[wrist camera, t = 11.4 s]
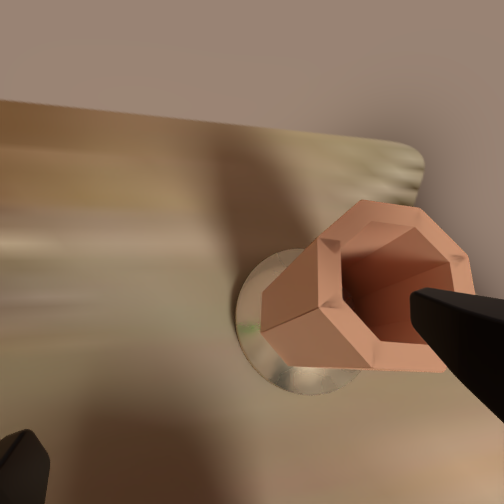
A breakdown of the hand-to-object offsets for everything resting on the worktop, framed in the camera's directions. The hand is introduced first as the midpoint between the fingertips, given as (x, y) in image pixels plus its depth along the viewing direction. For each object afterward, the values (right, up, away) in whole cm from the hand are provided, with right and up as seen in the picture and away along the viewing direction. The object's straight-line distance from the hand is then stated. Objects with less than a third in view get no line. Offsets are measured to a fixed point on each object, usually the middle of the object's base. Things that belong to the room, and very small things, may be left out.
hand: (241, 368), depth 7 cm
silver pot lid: (+4, -2, +15) cm, 15 cm away
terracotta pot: (+4, -2, +14) cm, 15 cm away
